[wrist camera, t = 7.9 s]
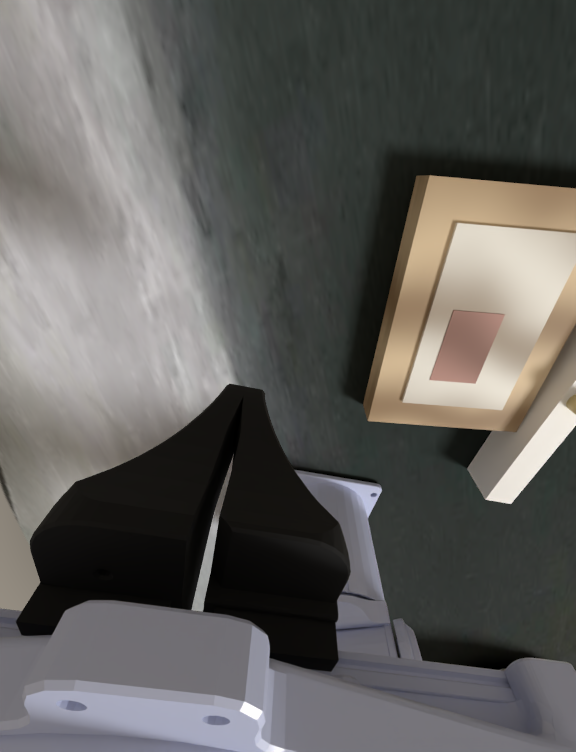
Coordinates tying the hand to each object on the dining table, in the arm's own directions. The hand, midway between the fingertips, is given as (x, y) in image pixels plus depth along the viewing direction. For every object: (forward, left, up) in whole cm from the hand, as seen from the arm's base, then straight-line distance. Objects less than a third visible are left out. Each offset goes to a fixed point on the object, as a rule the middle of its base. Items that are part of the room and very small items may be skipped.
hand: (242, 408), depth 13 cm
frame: (+3, -12, -10) cm, 16 cm away
